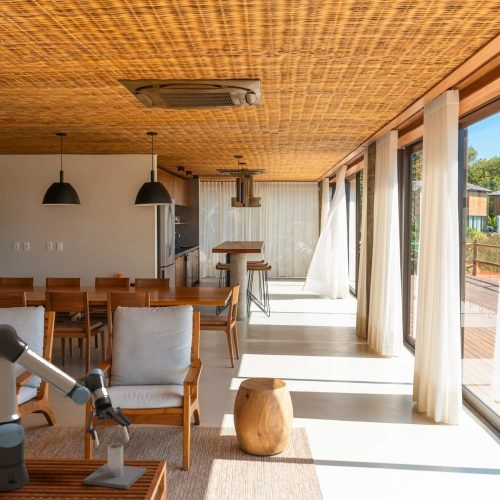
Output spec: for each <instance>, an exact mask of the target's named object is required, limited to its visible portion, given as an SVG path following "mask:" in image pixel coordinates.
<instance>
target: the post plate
mask: <svg viewBox="0 0 500 500" xmlns="http://www.w3.org/2000/svg"><path fill="white" fill-rule="evenodd" d="M147 470H148V469H147V467H139V466H129V465H123V474H122V475H121V476H118V477H110V476H109V475H108V463H104V464H103V465H101V466H100V467H99V468H97V469H96V470H94V472H92V473H91V474H90V475H88V476H87V477H85V478H84V479H83V484H85V485H93V486H99V487H107V488H109V487H110V488H117V489H122V490H123V489H125V490H128V489H129V488H130V487H131V486H132V485H133V484H135V482H137V481H138V480H139V479H141V477H142V476H143V475H144V474H146V473H147Z"/></svg>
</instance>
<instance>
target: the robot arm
mask: <svg viewBox="0 0 500 500" xmlns="http://www.w3.org/2000/svg"><path fill="white" fill-rule="evenodd" d="M16 364H17V365H20V366H21V367H23V368H24V369H25V370H26V371H28V372H30V373H31V374H33V375H34V376H36V377H37V378H39V379H41V380H42V381H44V382H45V383H46V384H48V385H49V386H51V387H52V388H54V389H56V390H58V391H59V392H60V393H62V395H63V398H69V399H70V400H71V401H72V402H73V403H75V404H76V405H79V406H83V405H86V404H87V403H88V402H89V400H90V398H91V397H92V402H93V406H94V409H95V410H94V411H93V410H90V411H89V416H88V417H89V418H88V422H87V426H86V429H85V434H89V435H90V438H91V441H94V445H95V448H96V449H98V448H99V447H100V441H99V438H98V434H97V431H96V428H97V426H98V425H99V423H100V422H101V421H106V420H110V419H111V420H112V421H114V422H116V423H117V424H118V425H119V426H120V427H122V431H123V435H124V439H125V442H126V443H128V442H129V440H130V437H129V434H130V429H129V427H130V425H131V424H132V421H131V420H130V419H129V417H127V416H126V414H125V413H124V411H122V410H121V409H122V408H121V407H120V406H117V407H116V408H114V407H113V404H112V400H111V395H110V392H109V389H108V386H107V381H106V376H105V375H104V371H103V370H102V369H100V368H93V369H92V370H89V371H88V372H87V373H86V376H82V377H77V378H74V377H73V376H70V375H69V374H68V373H66V372H64V371H63V370H61V369H60V368H59V367H57V366H56V365H55V364H53V363H51V362H50V361H48V359H46V358H44V357H43V356H41V355H40V354H39V353H37V352H35V351H34V350H32V349H31V348H29V344H28V343H27V342H25V341H24V340H23V339H22V338H21V337H20V336H19V335H18V332H17V329H15V327H13V326H12V325H11V324H6V323H1V324H0V492H9V491H14V490H18V489H20V488H21V489H22V488H23V487H25V486H26V485H27V484H28V483H29V482H30V476H29V473H28V470H27V467H26V464H25V434H26V433H25V428H24V426H22V415H21V413H20V412H18V402H17V401H18V400H17V379H16ZM95 416H96V417H97V419H96V421H95V422H94V425H93V426H92V428H91V425H92V423H93V419H94V417H95Z"/></svg>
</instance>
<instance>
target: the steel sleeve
mask: <svg viewBox="0 0 500 500" xmlns="http://www.w3.org/2000/svg"><path fill="white" fill-rule="evenodd" d="M107 464H108V475H109V476H110V477H118V476H121V475H122V474H123V466H124V445H123V443H112V444H109V445H108V446H107Z"/></svg>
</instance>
